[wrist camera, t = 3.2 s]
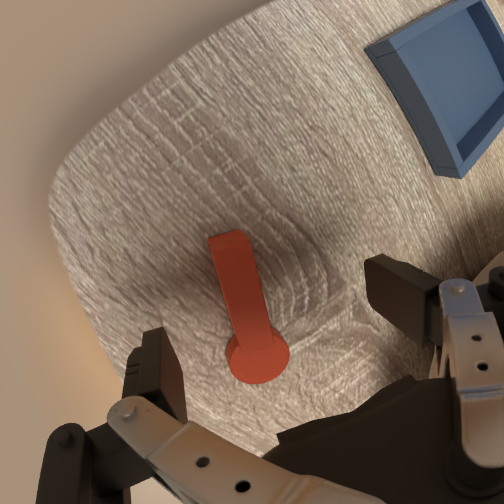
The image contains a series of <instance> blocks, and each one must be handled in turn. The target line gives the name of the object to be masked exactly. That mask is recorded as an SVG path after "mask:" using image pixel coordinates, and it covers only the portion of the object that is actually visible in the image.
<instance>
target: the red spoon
mask: <svg viewBox="0 0 504 504" xmlns="http://www.w3.org/2000/svg"><path fill="white" fill-rule="evenodd" d="M207 242H208V246H209V249H210V253H211V256H212V260H213V263H214V267H215V270H216V274H217V277H218V280H219V284H220V287H221V291H222V294H223V297H224V301H225V304H226V307H227V310H228V314H229V317H230V320H231V323H232V327H233V330H234V333H235V335H234V336H233V337H232V339H231V340H230V342H229V344H228V346H227V350H226V357H227V360H228V364H229V367H230V370H231V372H232V374H233V375H234V376H235V377H236V378H237V379H238V380H240V381H242V382H244V383H248V384H261V383H265V382H268V381H270V380H272V379H274V378H276V377H277V376H278V375H280V374H281V373H282V372H283V370H284V369H285V368H286V366H287V364H288V361H289V356H290V352H289V348H288V346H287V344H286V342H285V341H284V339H283V337H282V336H281V334H280V333H279V332H278V331H277V330H276V329H274V328H272V327H271V325H270V321H269V317H268V313H267V309H266V304H265V300H264V296H263V292H262V288H261V284H260V280H259V276H258V271H257V267H256V263H255V259H254V255H253V251H252V247H251V243H250V239H249V238H248V237H247V236H246V235H245V234H244V233H243V232H242V231H241V230H240V229H238V230H235V231H231V232H228V233H224V234H221V235H218V236H214V237H211V238H208V239H207Z"/></svg>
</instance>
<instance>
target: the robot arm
mask: <svg viewBox="0 0 504 504" xmlns="http://www.w3.org/2000/svg"><path fill="white" fill-rule="evenodd" d="M364 271H365V281H366V292H367V298H368V301H369V303H370V305H371V307H372V308H373V309H374V310H375V311H377V312H378V313H379V314H380V315H382V316H383V317H384V318H385V319H387V320H388V321H389V322H390V323H391V324H393V325H394V326H395V327H396V328H398V329H399V330H400V331H401V332H403V333H404V334H405V335H406V336H407V337H409V338H410V339H411V340H412V341H414V342H415V343H416V344H417V345H418V346H420V347H421V348H424V347H426V346H427V345H429V344H431V343H433V342H434V343H435V371H436V378H432V379H426V380H421V381H418V382H417V381H416V380H415V379H414V378H413V377H412V376H411V375H410V374H409V375H407V376H405V377H403V378H402V379H400V380H398V381H396V382H394V383H392V384H390V385H388V386H386V387H385V388H383V389H381V390H380V391H378V392H377V393H376V394H375V395H373V396H372V397H371V398H370V399H368V400H367V401H366V402H364V403H363V404H362V405H361V406H359V407H358V408H357V409H355V410H354V411H352V412H349V413H345V414H340V415H336V416H331V417H327V418H322V419H317V420H312V421H310V422H307V423H305V424H302V425H299V426H297V427H294V428H291V429H289V430H286V431H283V432H280V433H277V434H276V435H277V438H278V441H279V445H277V446H276V447H274V448H273V449H271V450H270V451H268V452H267V453H266V454H265V455H264V456H263V457H261V458H260V457H258V456H256V455H254V454H252V453H250V452H248V451H246V450H244V449H242V448H240V447H238V446H236V445H234V444H233V443H231V442H229V441H227V440H225V439H223V438H222V437H220V436H218V435H216V434H214V433H213V432H211V431H209V430H207V429H206V428H204V427H202V426H201V425H199V424H197V423H196V422H193V421H188V419H187V410H186V401H185V391H184V381H183V373H182V369H181V366H180V363H179V360H178V358H177V356H176V354H175V352H174V349H173V347H172V345H171V343H170V340H169V338H168V336H167V333H166V331H165V329H164V328H163V327H159V328H156V329H153V330H149V331H146V332H144V333H143V338H142V346H141V347H138V348H134V350H133V351H132V352H131V354H130V355H129V357H128V360H127V366H126V367H127V369H126V372H125V375H126V376H125V379H124V386H123V393H122V399H121V400H120V401H118V402H117V403H115V404H114V405H113V406H112V407H111V409H110V410H109V412H108V414H107V422H106V423H105V424H103V425H101V426H98V427H96V428H94V429H92V430H89V431H87V432H85V430H84V429H83V428H82V427H81V426H80V425H79V424H76V423H68V424H64V425H62V426H60V427H58V428H57V429H56V430H54V431H53V432H52V434H51V435H50V436H49V438H48V441H47V445H46V449H45V454H44V458H43V463H42V468H41V473H40V479H39V485H38V491H37V497H36V504H131V493H130V487H131V486H133V485H135V484H138V483H140V482H142V481H144V480H146V479H149V478H150V477H152V478H153V479H155V480H156V481H157V482H158V483H159V484H160V485H161V486H163V487H164V488H165V489H166V490H167V491H169V492H170V493H171V494H172V495H173V496H174V497H176V498H177V499H178V500H179V501H181V502H182V503H183V504H504V266H499V267H495V268H493V269H491V270H490V271H489V277H488V283H485V284H482V285H478V286H475V285H474V284H473V283H472V282H471V281H469V280H466V279H461V278H454V279H448V280H446V281H444V282H443V281H442V280H440V279H438V278H436V277H434V276H432V275H430V274H428V273H426V272H423V270H421V269H419V268H416V267H415V266H413V265H411V264H409V263H406V262H401V261H396V260H394V259H392V258H390V257H388V256H386V255H385V254H379V255H377V256H374V257H371V258H369V259H366V260H365V262H364Z"/></svg>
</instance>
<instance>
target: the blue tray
mask: <svg viewBox="0 0 504 504" xmlns="http://www.w3.org/2000/svg"><path fill="white" fill-rule="evenodd" d="M364 50H365V51H366V53H367V54H368V56H369V57H370V58H371V60H372V61H373V63H374V64H375V66H376V67H377V69H378V70H379V72H380V73H381V75H382V77H383V78H384V80H385V81H386V83H387V84H388V86H389V88H390V89H391V91H392V93H393V94H394V96H395V98H396V99H397V101H398V103H399V104H400V106H401V108H402V110H403V111H404V113H405V115H406V117H407V119H408V120H409V122H410V124H411V126H412V128H413V130H414V132H415V133H416V135H417V137H418V139H419V141H420V143H421V145H422V147H423V149H424V151H425V153H426V155H427V157H428V159H429V162H430V164H431V166H432V168H433V170H434V172H435V175H438V176H445V177H451V178H457V179H462V178H463V177H464V176H465V175H466V173H467V172H468V171H469V170H470V169H471V168H472V166H473V165H474V164H475V163H476V161H477V160H478V159H479V158H480V157H481V155H482V154H483V153H484V152H485V150H486V149H487V148H488V147H489V145H490V144H491V143H492V142H493V140H494V139H495V138H496V136H497V135H498V134H499V133H500V131H501V130H502V129H503V127H504V34H503V32H502V30H501V28H500V26H499V24H498V22H497V21H496V19H495V17H494V15H493V13H492V12H491V10H490V8H489V6H488V5H487V3H486V1H485V0H451V1H449V2H447V3H445V4H443V5H441V6H439V7H437V8H435V9H433V10H431V11H429V12H427V13H425V14H424V15H422V16H420V17H418V18H416V19H414V20H412V21H411V22H409V23H407V24H405V25H404V26H402V27H400V28H398V29H396V30H395V31H393V32H391V33H390V34H388V35H386V36H384V37H383V38H381V39H379V40H378V41H376V42H374V43H373V44H371V45H370V46H368V47H366V48H365V49H364Z"/></svg>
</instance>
